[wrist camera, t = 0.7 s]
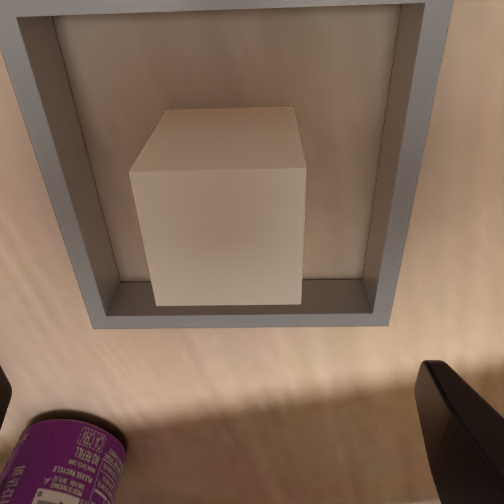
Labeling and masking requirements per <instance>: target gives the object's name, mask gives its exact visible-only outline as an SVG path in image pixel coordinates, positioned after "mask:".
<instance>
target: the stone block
mask: <svg viewBox="0 0 504 504" xmlns="http://www.w3.org/2000/svg"><path fill="white" fill-rule="evenodd" d="M128 173H129V178H130V182H131V187H132V192H133V197H134V201H135V206H136V211H137V216H138V221H139V225H140V230H141V235H142V240H143V245H144V249H145V254H146V259H147V264H148V269H149V273H150V278H151V283H152V288H153V292H154V297H155V302H156V306H198V305H286V304H301V295H302V271H303V248H304V224H305V200H306V176H307V166H306V161H305V157H304V152H303V147H302V142H301V138H300V133H299V128H298V123H297V118H296V114H295V109H294V106H278V107H241V108H204V109H167V110H166V112H165V113H164V115H163V117H162V118H161V120H160V121H159V123H158V125H157V126H156V128H155V130H154V131H153V133H152V134H151V136H150V138H149V139H148V141H147V142H146V144H145V146H144V147H143V149H142V151H141V152H140V154H139V155H138V157H137V159H136V160H135V162H134V164H133V165H132V167H131V168H130V170H129V172H128Z"/></svg>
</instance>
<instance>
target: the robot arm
mask: <svg viewBox="0 0 504 504" xmlns="http://www.w3.org/2000/svg"><path fill="white" fill-rule="evenodd" d="M414 391H415V399H416V404H417V409H418V414H419V418H420V423H421V428H422V433H423V438H424V442H425V447H426V452H427V457H428V461H429V466H430V470H431V473H432V476H433V480H434V483H435V486H436V489H437V492H438V495H439V498H440V501H441V504H504V417H503V416H502V415H501V414H499V413H498V412H497V411H496V410H495V409H494V408H493V407H492V406H491V405H490V404H489V403H488V402H487V401H486V400H485V399H484V398H483V397H482V396H480V395H479V394H478V393H477V392H476V391H475V390H474V389H473V388H472V387H471V386H470V385H469V384H468V383H467V382H466V381H465V380H464V379H462V378H461V377H460V376H459V375H458V374H457V373H456V372H455V371H454V370H453V369H452V368H451V367H450V366H449V365H448V364H447V363H445V362H444V361H441V360H425V361H423V362H422V363H421V365H420V369H419V372H418V376H417V379H416V383H415V389H414ZM11 395H12V388H11V384H10V383H9V381H8V379H7V377H6V375H5V373H4V371H3V369H2V368H1V366H0V430H1V427H2V424H3V421H4V418H5V414H6V411H7V408H8V405H9V402H10V399H11Z"/></svg>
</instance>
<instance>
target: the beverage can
mask: <svg viewBox="0 0 504 504" xmlns="http://www.w3.org/2000/svg"><path fill="white" fill-rule="evenodd" d="M125 461H126V452H125V449H124V447H123V446H122V444H121V443H120V442H119V441H118V440H117V439H116V438H115V437H114V436H113V435H111V434H110V433H108V432H107V431H105V430H103V429H101V428H100V427H98V426H96V425H94V424H91V423H88V422H85V421H81V420H75V419H52V420H45V421H41V422H37V423H35V424H32V425H31V426H29V427H27V428H26V429H25V430H24V431H23V432H22V434H21V436H20V438H19V440H18V442H17V444H16V446H15V448H14V450H13V452H12V454H11V456H10V458H9V460H8V462H7V464H6V466H5V468H4V470H3V472H2V474H1V476H0V504H114V501H115V498H116V494H117V490H118V487H119V483H120V479H121V476H122V472H123V468H124V465H125Z"/></svg>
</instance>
